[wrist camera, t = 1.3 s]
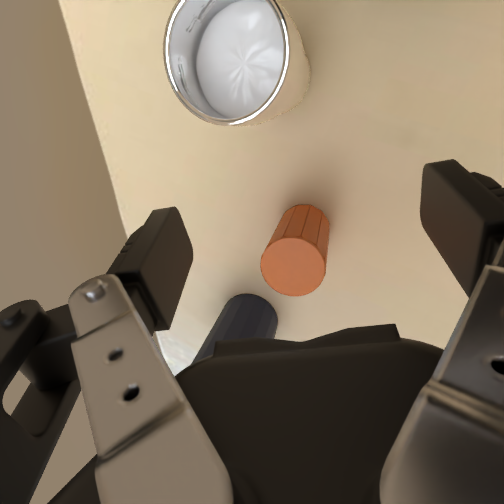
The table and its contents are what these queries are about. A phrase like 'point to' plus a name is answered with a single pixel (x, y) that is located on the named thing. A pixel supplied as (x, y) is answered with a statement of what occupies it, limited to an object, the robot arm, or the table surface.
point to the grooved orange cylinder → (297, 252)
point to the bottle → (241, 322)
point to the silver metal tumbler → (235, 60)
